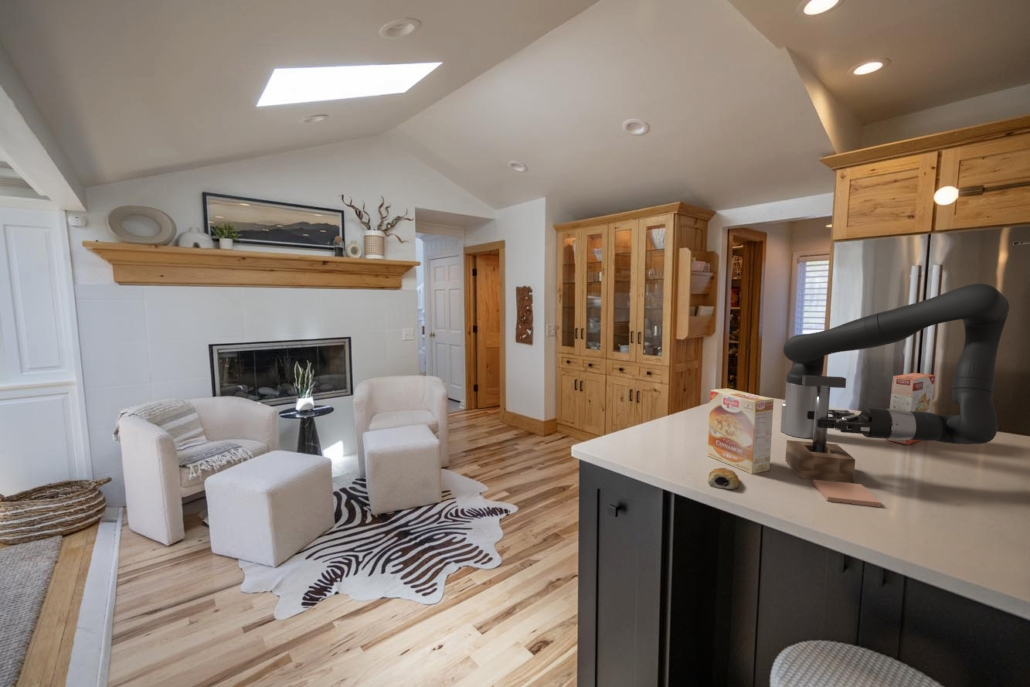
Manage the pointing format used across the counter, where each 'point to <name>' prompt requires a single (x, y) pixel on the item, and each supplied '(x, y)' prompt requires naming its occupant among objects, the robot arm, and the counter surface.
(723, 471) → the pastry
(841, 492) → the pad
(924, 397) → the cracker box
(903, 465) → the counter surface
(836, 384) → the key
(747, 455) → the coffeecake box
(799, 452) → the block
